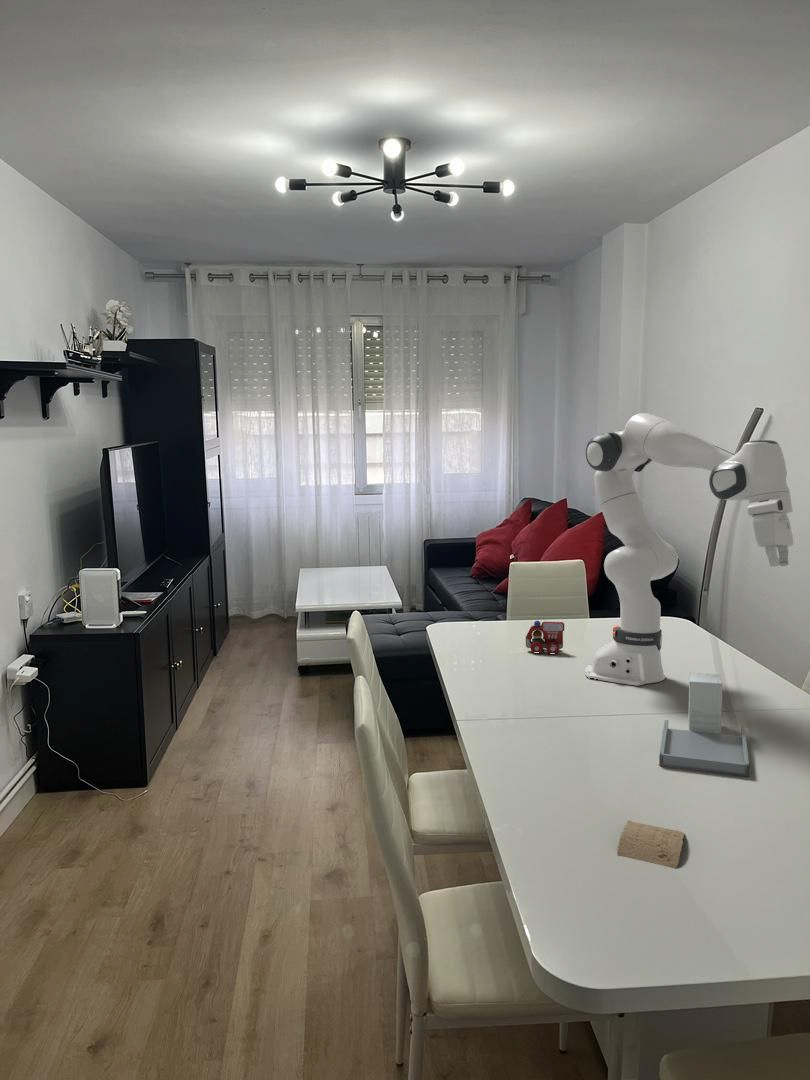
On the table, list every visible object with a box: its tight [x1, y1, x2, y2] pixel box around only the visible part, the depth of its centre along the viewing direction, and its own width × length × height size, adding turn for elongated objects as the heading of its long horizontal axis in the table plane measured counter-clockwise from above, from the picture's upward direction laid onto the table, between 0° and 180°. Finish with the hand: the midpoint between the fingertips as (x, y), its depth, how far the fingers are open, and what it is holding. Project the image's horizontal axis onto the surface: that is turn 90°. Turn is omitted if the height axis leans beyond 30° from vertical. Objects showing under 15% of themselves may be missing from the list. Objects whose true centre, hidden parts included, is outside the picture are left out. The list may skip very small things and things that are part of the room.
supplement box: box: [687, 672, 724, 734], centre depth 190 cm, size 7×7×13 cm
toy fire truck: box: [525, 620, 565, 654], centre depth 258 cm, size 7×12×10 cm, turn 75°
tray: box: [658, 719, 750, 778], centre depth 177 cm, size 18×22×2 cm
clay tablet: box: [616, 819, 686, 869], centre depth 138 cm, size 14×10×3 cm
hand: (779, 566), depth 184 cm, fingers open, 8 cm apart
